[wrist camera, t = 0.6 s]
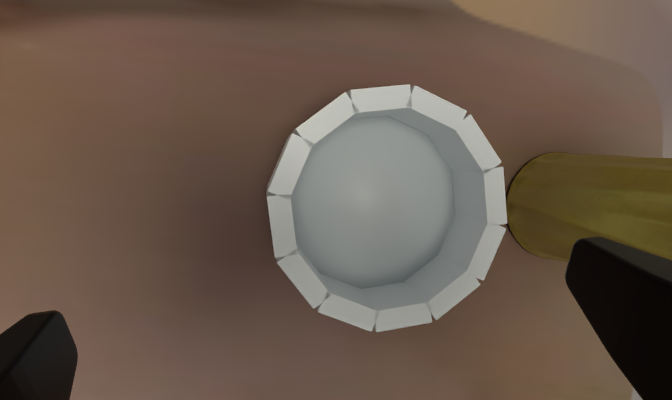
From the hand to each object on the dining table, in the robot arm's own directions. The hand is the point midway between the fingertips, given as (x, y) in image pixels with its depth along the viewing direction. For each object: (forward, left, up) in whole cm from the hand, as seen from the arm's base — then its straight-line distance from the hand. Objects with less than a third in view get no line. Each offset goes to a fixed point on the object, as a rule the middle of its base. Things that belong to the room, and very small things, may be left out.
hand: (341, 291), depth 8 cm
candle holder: (+2, -4, -15) cm, 16 cm away
